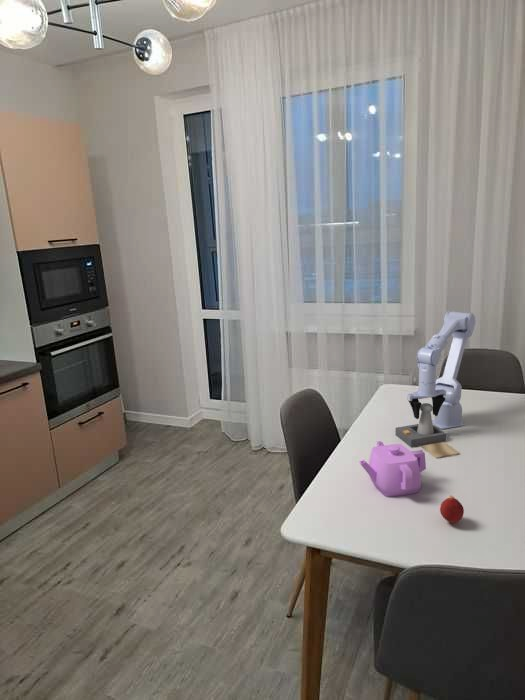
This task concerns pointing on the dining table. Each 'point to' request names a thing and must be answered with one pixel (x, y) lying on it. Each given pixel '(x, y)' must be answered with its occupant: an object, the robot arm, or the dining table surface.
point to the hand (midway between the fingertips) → (425, 416)
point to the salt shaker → (425, 420)
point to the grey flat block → (419, 436)
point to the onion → (452, 510)
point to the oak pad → (440, 450)
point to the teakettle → (395, 469)
